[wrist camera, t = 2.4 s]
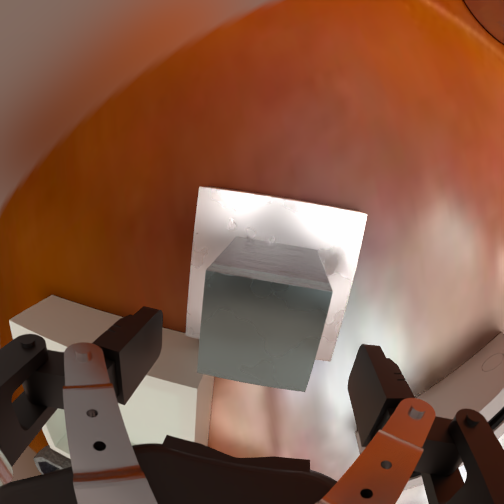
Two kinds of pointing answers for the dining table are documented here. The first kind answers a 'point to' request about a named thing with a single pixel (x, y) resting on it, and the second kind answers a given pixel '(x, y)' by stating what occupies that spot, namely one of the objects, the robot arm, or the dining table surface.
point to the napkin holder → (469, 392)
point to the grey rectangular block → (263, 314)
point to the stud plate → (278, 231)
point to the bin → (150, 389)
